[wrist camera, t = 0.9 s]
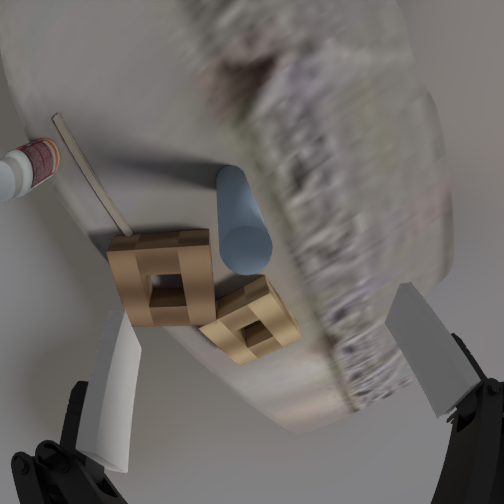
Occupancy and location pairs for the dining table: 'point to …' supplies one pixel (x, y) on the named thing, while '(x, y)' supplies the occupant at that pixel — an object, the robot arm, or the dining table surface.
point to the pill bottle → (27, 168)
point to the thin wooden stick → (91, 175)
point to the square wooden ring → (159, 263)
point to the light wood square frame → (246, 312)
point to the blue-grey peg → (240, 224)
